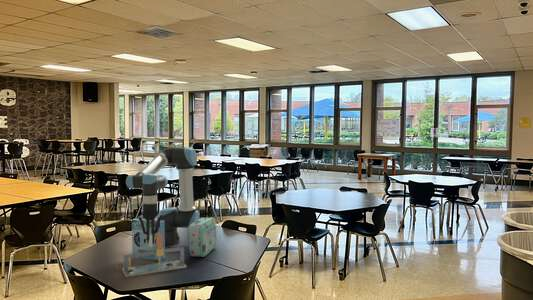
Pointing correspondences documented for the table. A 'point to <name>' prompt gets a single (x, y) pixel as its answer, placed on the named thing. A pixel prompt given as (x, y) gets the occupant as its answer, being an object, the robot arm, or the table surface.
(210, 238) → the lunch box
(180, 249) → the clear acrylic panel
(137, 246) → the gum box
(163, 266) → the plate
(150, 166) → the robot arm
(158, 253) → the cursor
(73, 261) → the table surface
